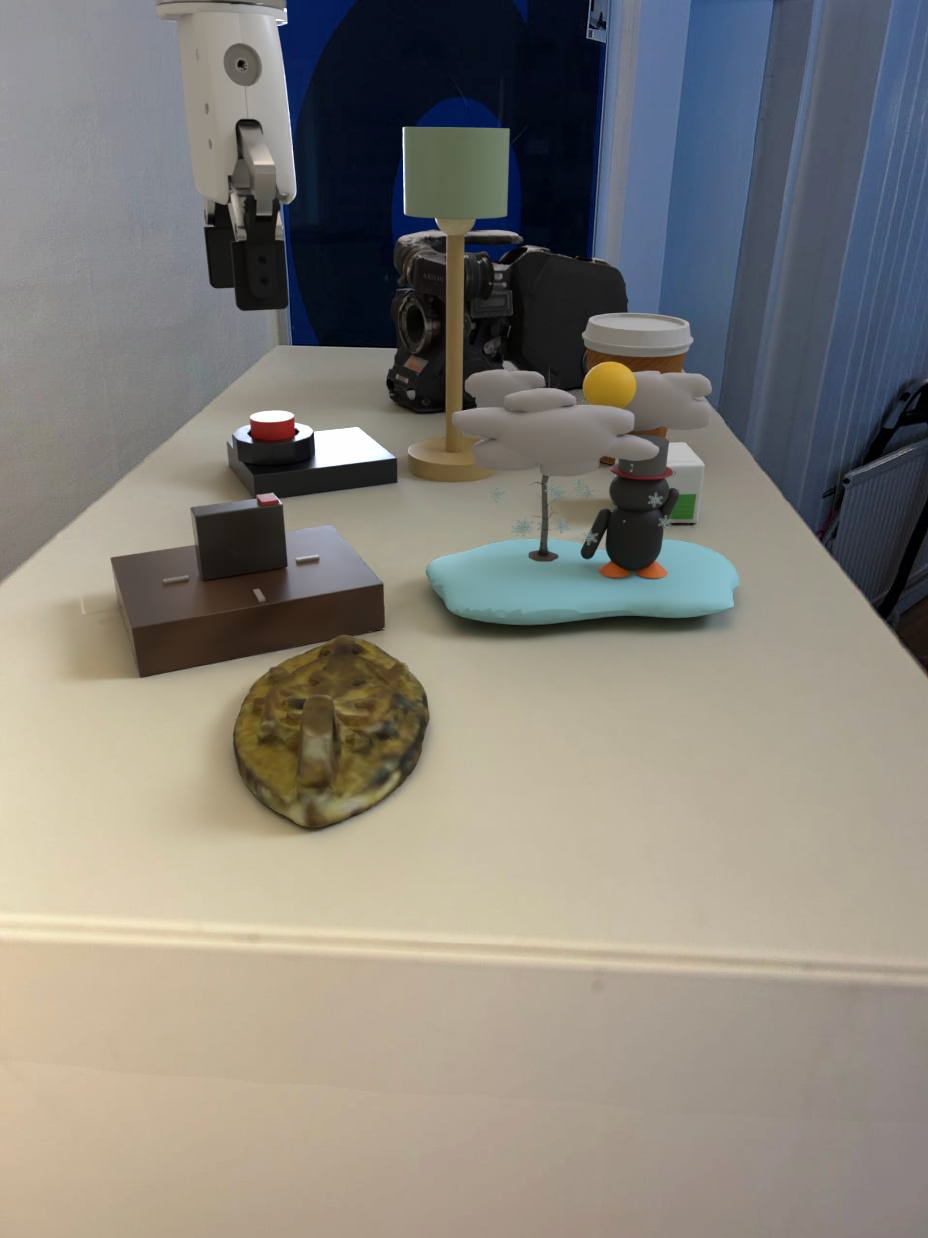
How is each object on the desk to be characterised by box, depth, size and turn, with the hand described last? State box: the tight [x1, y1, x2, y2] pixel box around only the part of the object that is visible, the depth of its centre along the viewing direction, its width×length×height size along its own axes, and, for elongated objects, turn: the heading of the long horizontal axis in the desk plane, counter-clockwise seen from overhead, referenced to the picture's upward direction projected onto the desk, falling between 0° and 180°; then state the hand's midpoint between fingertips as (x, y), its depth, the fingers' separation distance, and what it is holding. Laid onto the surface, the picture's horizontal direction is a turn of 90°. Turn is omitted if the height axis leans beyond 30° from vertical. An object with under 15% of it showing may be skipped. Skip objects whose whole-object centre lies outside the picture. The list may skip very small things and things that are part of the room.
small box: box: [613, 441, 706, 524], centre depth 72 cm, size 6×6×5 cm
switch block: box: [226, 422, 398, 500], centre depth 79 cm, size 12×10×4 cm
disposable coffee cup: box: [582, 312, 694, 466], centre depth 83 cm, size 10×10×12 cm
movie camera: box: [385, 228, 629, 413], centre depth 101 cm, size 31×18×18 cm, turn 120°
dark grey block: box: [189, 493, 288, 581], centre depth 54 cm, size 5×2×4 cm, turn 114°
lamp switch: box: [249, 410, 296, 440], centre depth 77 cm, size 4×4×2 cm
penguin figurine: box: [424, 362, 741, 626], centre depth 56 cm, size 20×11×15 cm, turn 93°
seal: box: [232, 635, 431, 828], centre depth 45 cm, size 9×5×15 cm
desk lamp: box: [402, 126, 511, 483], centre depth 76 cm, size 8×8×26 cm
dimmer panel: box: [109, 524, 386, 678], centre depth 56 cm, size 14×10×3 cm
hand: (247, 297), depth 63 cm, fingers open, 9 cm apart
